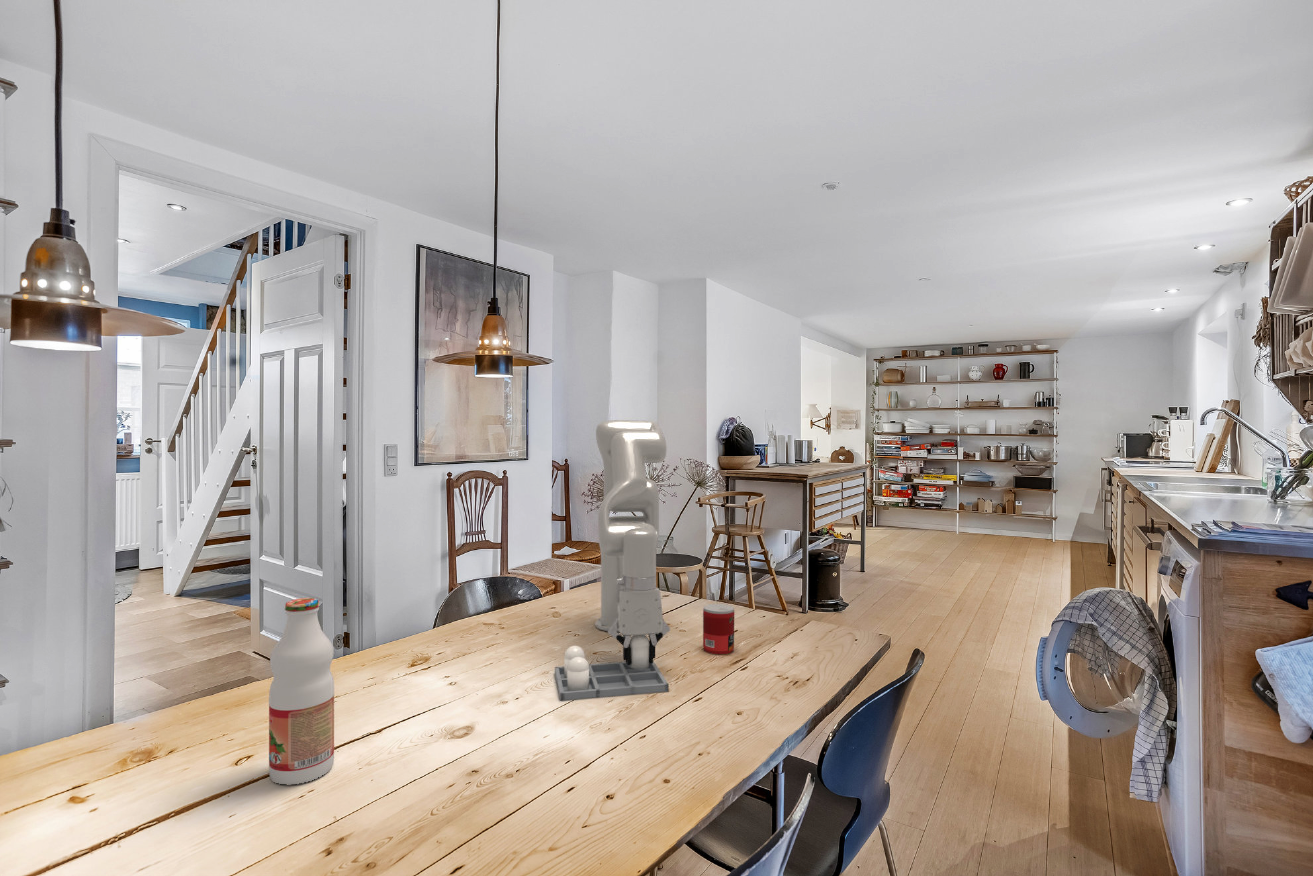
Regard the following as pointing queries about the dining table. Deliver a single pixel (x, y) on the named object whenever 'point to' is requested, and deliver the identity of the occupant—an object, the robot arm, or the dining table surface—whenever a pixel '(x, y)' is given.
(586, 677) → the seated egg
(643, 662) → the loose egg
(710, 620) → the canned food
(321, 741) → the fruit juice
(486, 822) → the dining table surface
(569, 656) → the seated egg
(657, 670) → the egg carton
